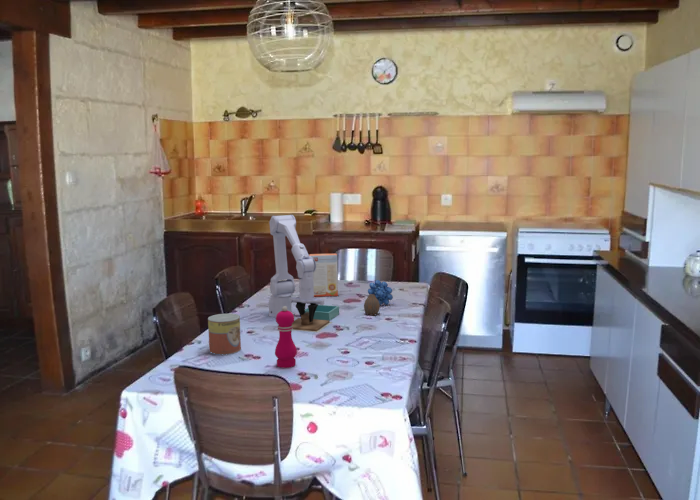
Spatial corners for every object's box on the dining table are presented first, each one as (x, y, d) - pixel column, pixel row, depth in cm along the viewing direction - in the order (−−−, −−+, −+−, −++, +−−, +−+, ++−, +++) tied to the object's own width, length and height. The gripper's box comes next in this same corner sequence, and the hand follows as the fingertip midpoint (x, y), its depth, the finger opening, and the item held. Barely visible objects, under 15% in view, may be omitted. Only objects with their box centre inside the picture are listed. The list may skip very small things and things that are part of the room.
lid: (284, 328, 245) (283, 316, 244) (298, 319, 258) (298, 308, 257) (316, 331, 240) (316, 319, 239) (329, 322, 253) (329, 311, 252)
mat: (280, 330, 244) (280, 328, 244) (297, 320, 259) (297, 319, 259) (317, 333, 239) (317, 332, 239) (332, 323, 254) (332, 322, 254)
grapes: (367, 307, 280) (367, 281, 278) (368, 303, 287) (367, 278, 285) (392, 307, 279) (392, 281, 278) (392, 304, 286) (392, 278, 284)
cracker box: (337, 293, 309) (337, 252, 306) (338, 296, 303) (337, 254, 300) (309, 294, 308) (308, 253, 305) (309, 297, 302) (308, 255, 299)
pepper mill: (275, 361, 206) (274, 303, 203) (297, 360, 207) (295, 303, 204) (274, 369, 199) (273, 309, 196) (297, 368, 200) (295, 308, 197)
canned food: (225, 356, 212) (224, 323, 210) (202, 351, 218) (200, 318, 216) (247, 348, 222) (246, 315, 220) (224, 343, 228) (223, 312, 226)
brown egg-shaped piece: (378, 316, 264) (378, 296, 263) (362, 315, 265) (362, 296, 264) (380, 312, 271) (380, 293, 269) (365, 312, 272) (365, 292, 271)
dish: (302, 319, 259) (302, 310, 259) (313, 313, 271) (313, 304, 270) (329, 322, 255) (329, 312, 255) (339, 315, 267) (339, 306, 266)
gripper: (285, 289, 245) (286, 321, 247) (319, 291, 241) (319, 324, 243) (293, 285, 252) (294, 317, 254) (326, 287, 247) (326, 320, 249)
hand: (307, 320), depth 249 cm, fingers closed on lid, 3 cm apart
